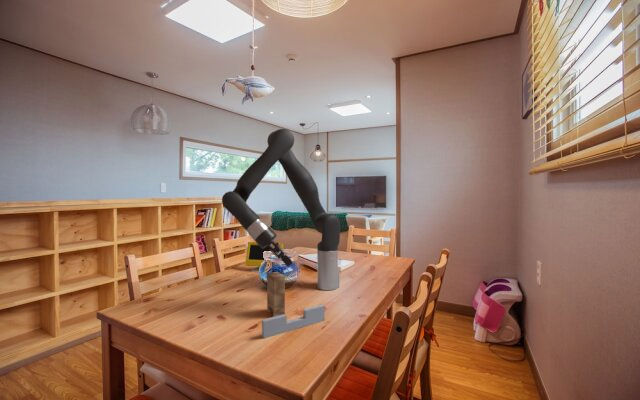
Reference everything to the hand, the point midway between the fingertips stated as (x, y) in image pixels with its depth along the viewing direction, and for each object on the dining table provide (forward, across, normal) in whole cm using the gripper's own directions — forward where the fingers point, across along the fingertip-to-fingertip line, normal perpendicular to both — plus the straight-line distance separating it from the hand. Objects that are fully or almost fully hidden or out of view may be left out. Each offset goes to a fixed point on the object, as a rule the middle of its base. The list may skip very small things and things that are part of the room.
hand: (290, 264), depth 114 cm
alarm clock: (-6, +55, +15) cm, 57 cm away
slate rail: (+15, -14, +12) cm, 24 cm away
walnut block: (+9, -2, +15) cm, 18 cm away
